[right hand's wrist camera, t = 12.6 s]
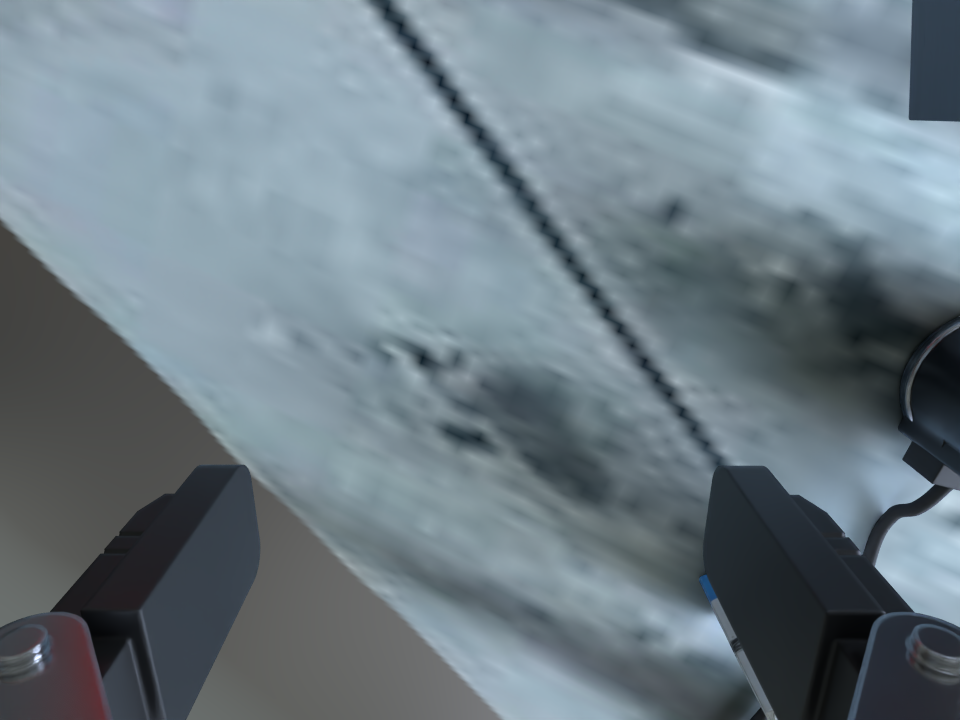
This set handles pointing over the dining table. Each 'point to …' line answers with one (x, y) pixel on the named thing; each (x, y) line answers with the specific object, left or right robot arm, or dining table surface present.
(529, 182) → the dining table surface
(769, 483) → the right robot arm
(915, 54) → the bar
